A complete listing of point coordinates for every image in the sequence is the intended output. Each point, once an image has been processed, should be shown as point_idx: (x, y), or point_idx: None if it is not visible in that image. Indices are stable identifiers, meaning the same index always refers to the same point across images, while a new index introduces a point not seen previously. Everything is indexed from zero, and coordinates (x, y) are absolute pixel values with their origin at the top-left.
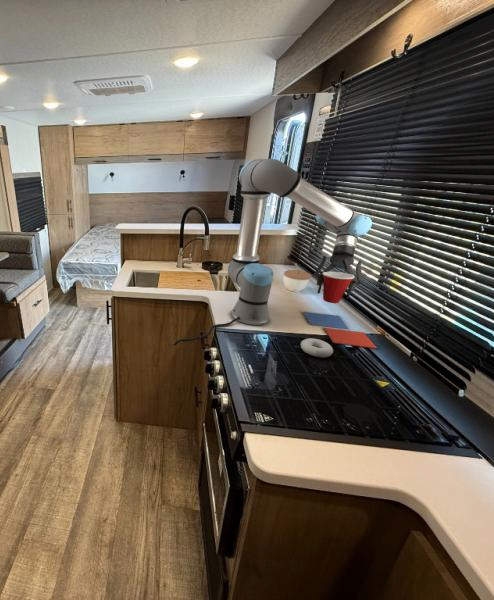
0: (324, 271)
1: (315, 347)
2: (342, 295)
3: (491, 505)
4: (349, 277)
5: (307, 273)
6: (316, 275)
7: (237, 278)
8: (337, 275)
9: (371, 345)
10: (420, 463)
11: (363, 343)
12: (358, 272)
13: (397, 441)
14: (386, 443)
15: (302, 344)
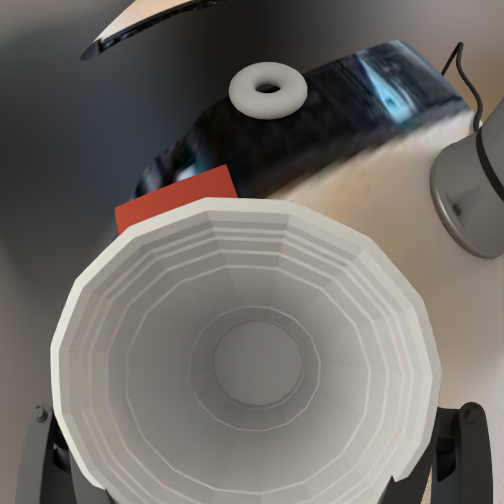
0: (414, 480)
1: (269, 64)
2: (190, 340)
3: (128, 10)
4: (117, 459)
5: None
6: (453, 411)
7: None
8: None
9: (125, 214)
10: (160, 7)
11: (143, 212)
12: (36, 498)
13: (170, 11)
14: (181, 5)
15: (301, 75)
